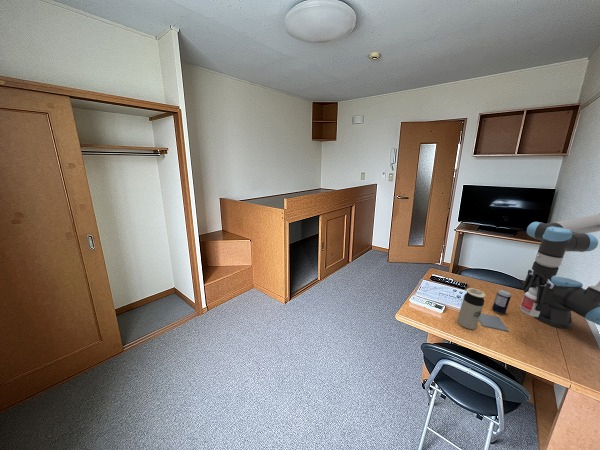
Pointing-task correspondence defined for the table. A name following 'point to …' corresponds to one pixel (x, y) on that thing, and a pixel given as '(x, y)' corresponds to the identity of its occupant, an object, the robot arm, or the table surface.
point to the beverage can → (501, 301)
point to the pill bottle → (529, 300)
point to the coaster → (492, 322)
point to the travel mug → (471, 308)
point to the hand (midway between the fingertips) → (528, 311)
